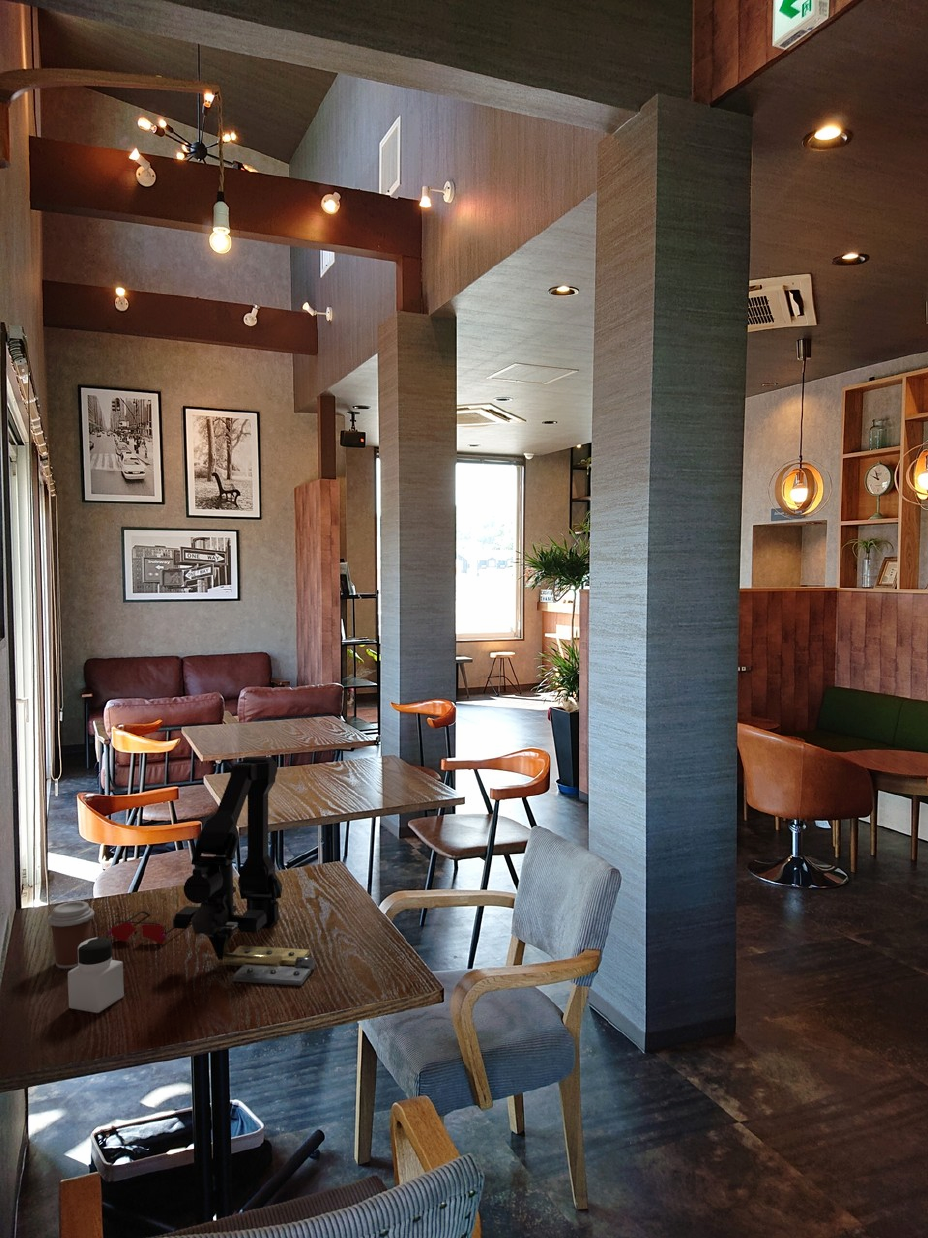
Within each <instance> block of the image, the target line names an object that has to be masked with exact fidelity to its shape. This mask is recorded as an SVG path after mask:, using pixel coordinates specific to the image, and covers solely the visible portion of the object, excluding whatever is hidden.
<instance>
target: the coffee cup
mask: <svg viewBox="0 0 928 1238" xmlns="http://www.w3.org/2000/svg"><path fill="white" fill-rule="evenodd" d="M94 916H95V911H94V909H93V908H91V907H90V905H89V902H86V901H83V900H76V901H75V900H73V901H68V902H64V903H60V904H59V905H55V907H54V908H53V909H52V913H51V914H50V915H49V916H48V917H47V923H48V925H50V926H51V933H52V934H51V935H52V941H53V947H54V955H55V956H54V957H55V965H56V967H57V968H59V969H67V970H68V969H74V968H76V967H78V946H79V945H80V944H81V943H82V942H84V941H86V940H89V939H91V927H92V926H91V925H92V919H93V918H94Z"/></svg>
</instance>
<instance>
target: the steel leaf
mask: <svg viewBox="0 0 928 1238" xmlns="http://www.w3.org/2000/svg"><path fill="white" fill-rule="evenodd" d="M315 967H316V959H315V957H309V956H308V957H297V958H296V961H295V965H294V966H284V965H281V966H267V965H250V964H244V965H243V966H240V968H239V969H238V970H237V971H236V972H235V973H234V975H232V982H238V983H239V982H241V983H253V984H255V983H256V984H268V985H269V984H270V985H284V986H298V987H299V986H302V985H303V984H304V983H305V981H306V980H307V979H308V977H309V976H310V975H311V973H312V971H314V970H315Z"/></svg>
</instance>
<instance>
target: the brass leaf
mask: <svg viewBox="0 0 928 1238" xmlns="http://www.w3.org/2000/svg"><path fill="white" fill-rule="evenodd" d="M309 956H310V949H304V948H303V949H302V948H286V947H271V946H269V947H267V946H251V945H250V946H249V945H239V946H238V947H237V948H235V950H234V951H233V952H226V953H225V954H224V956H223V959H222V964H223V965H224V966H235V967H236V966H237V967H242V966H243V965H244V964H250V965H267V966H295V961H296V958H297V957H308V958H309Z"/></svg>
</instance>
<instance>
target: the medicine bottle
mask: <svg viewBox="0 0 928 1238" xmlns="http://www.w3.org/2000/svg"><path fill="white" fill-rule="evenodd" d="M112 943H113V942H112V940H111V939H109V938H107V937H100V936H99V937H93V938H90V939H89V940H86V941H84V942H82V943H81V944H80V945H79V946H78V967H74V968H71V969H70V970H69V971H68V972H67V988H68V989H67V991H68V1008H70V1009H72V1010H79V1011H84V1012H90V1013H94V1014H99V1013H101V1012H102V1011H104V1010H105V1009H106V1008H108V1007H110V1006H111V1005H113V1004H114V1003H116V1002H118V1001H119V1000H121V999H122V998H123V997H124V995H125V993H124V991H125V990H124V963H123V961H121V960H116V959H113V944H112Z"/></svg>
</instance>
